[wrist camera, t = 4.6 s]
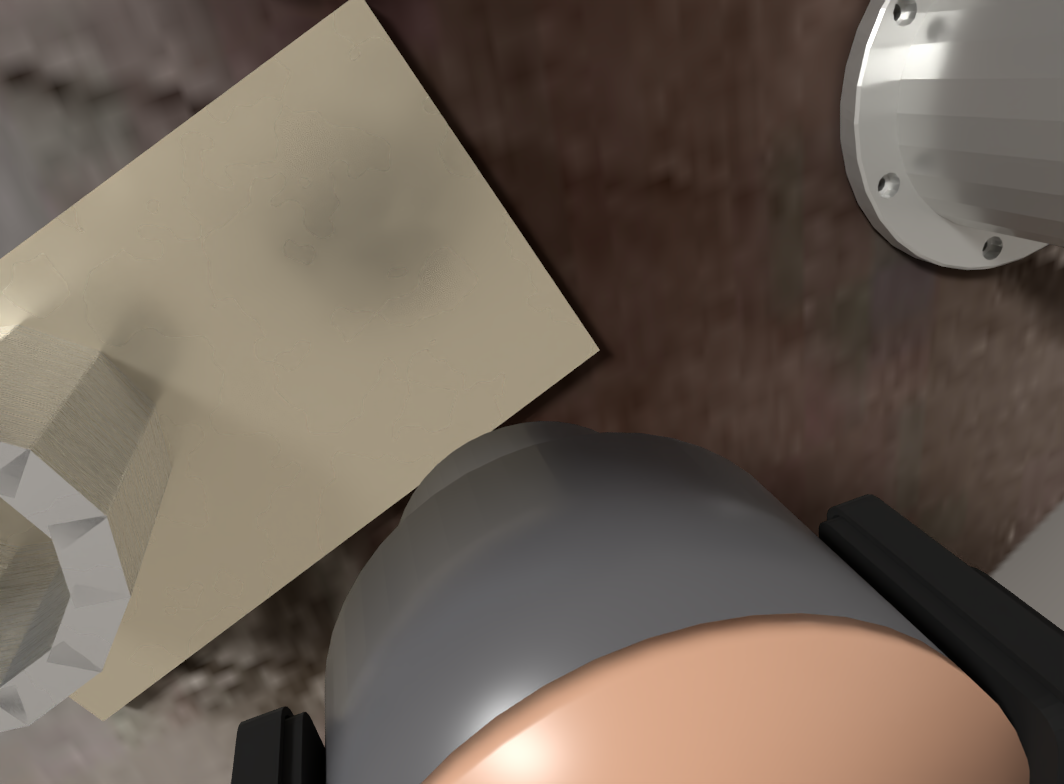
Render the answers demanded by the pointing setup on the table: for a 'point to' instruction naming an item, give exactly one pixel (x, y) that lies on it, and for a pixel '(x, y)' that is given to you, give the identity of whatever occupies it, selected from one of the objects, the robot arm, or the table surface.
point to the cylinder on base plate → (247, 362)
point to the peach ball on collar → (634, 635)
